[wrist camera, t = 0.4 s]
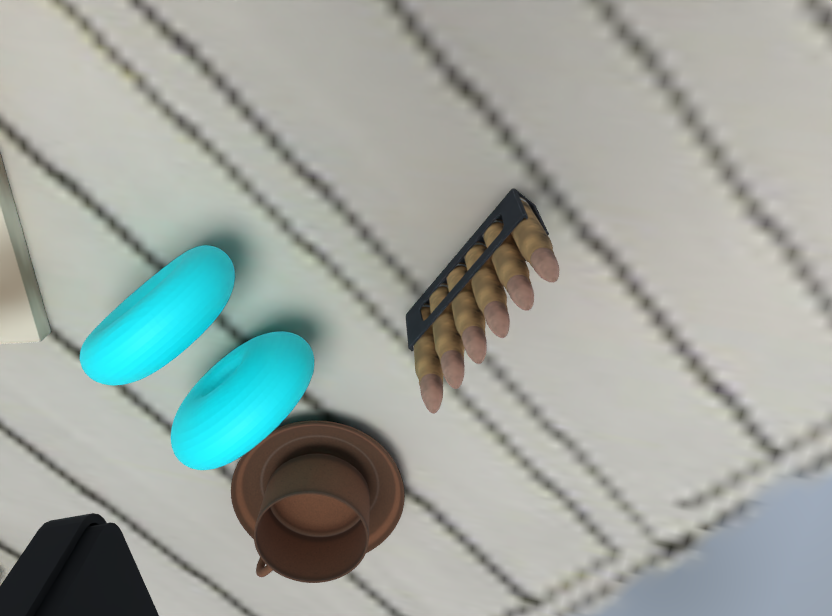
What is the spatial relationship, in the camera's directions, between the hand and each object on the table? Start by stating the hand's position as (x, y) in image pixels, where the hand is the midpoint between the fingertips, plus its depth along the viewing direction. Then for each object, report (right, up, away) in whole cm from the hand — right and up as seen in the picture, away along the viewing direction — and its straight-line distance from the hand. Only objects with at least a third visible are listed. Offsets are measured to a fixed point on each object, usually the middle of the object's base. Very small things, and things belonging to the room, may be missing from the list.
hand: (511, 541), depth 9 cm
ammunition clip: (+2, +6, +36) cm, 37 cm away
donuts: (-14, +2, +38) cm, 40 cm away
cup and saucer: (-8, -9, +43) cm, 45 cm away
